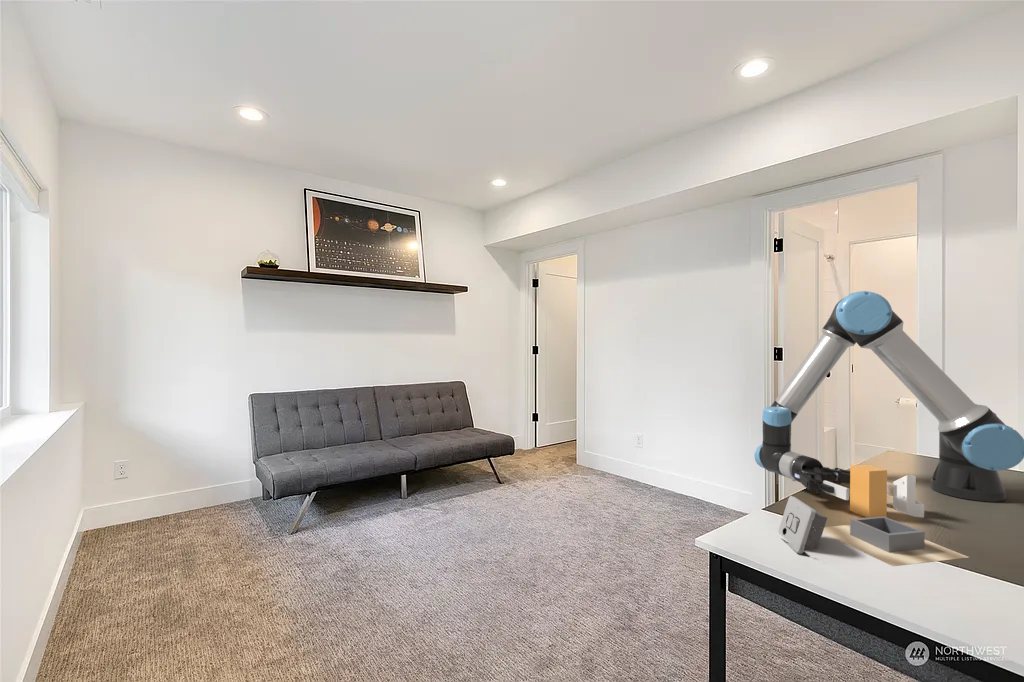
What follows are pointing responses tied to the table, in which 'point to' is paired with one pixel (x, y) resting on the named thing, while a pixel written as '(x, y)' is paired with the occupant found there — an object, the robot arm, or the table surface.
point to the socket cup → (887, 534)
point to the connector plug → (868, 491)
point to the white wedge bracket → (907, 497)
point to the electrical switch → (801, 525)
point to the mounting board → (894, 558)
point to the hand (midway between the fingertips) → (872, 492)
